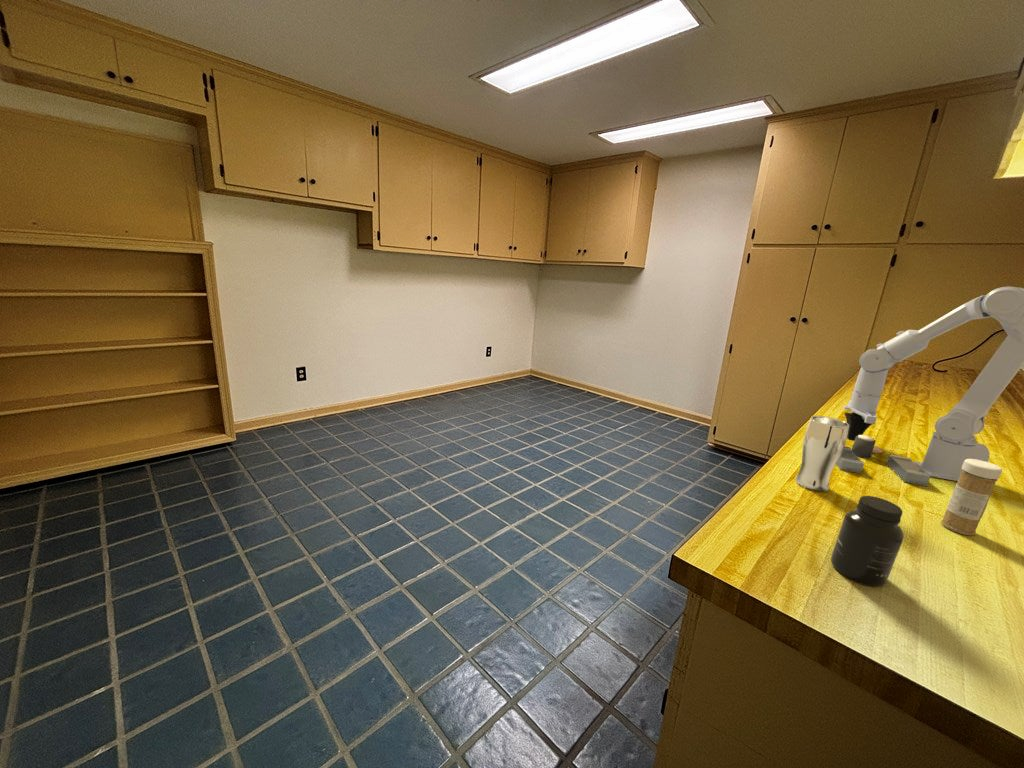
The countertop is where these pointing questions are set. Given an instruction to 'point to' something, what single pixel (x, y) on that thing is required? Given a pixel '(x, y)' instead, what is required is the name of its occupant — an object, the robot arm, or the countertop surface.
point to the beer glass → (821, 451)
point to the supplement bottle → (869, 541)
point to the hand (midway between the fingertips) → (852, 439)
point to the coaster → (877, 450)
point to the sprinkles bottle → (971, 496)
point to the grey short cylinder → (863, 446)
